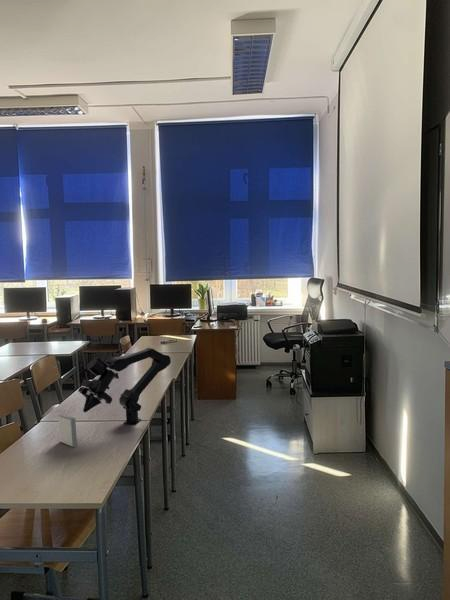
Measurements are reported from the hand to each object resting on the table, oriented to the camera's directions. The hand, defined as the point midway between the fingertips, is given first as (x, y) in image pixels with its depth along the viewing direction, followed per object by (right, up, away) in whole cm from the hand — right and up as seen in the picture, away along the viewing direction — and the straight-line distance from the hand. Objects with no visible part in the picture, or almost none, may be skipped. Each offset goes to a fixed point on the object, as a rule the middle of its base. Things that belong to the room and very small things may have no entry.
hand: (84, 411), depth 198 cm
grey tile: (-5, -12, -6) cm, 14 cm away
